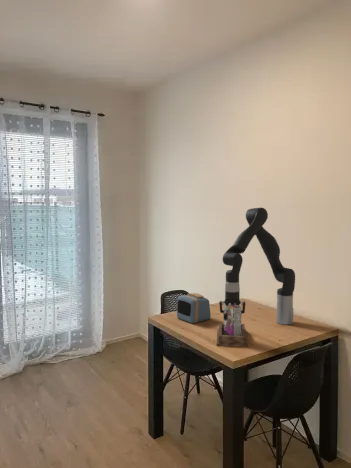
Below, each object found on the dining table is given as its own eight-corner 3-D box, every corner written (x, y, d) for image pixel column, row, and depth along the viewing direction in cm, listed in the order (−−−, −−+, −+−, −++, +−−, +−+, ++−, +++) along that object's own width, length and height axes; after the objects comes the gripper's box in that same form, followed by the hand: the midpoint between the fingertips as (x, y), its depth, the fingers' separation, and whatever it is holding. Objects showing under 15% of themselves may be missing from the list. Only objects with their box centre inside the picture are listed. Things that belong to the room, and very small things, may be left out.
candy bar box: (223, 331, 214) (223, 301, 213) (231, 330, 216) (231, 301, 214) (233, 338, 203) (233, 307, 202) (241, 336, 205) (241, 306, 204)
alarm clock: (175, 318, 246) (175, 293, 244) (195, 313, 256) (195, 289, 254) (191, 324, 233) (191, 298, 231) (212, 319, 243) (212, 294, 241)
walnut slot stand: (245, 331, 221) (245, 323, 220) (248, 346, 197) (248, 338, 197) (217, 330, 223) (217, 322, 222) (216, 345, 199) (216, 337, 198)
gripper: (245, 288, 210) (245, 318, 212) (218, 288, 212) (218, 318, 214) (246, 291, 203) (246, 323, 204) (218, 291, 205) (218, 322, 206)
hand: (232, 320), depth 209 cm, fingers closed on candy bar box, 6 cm apart
